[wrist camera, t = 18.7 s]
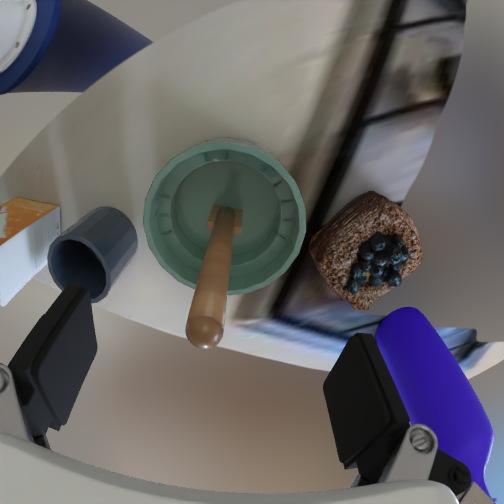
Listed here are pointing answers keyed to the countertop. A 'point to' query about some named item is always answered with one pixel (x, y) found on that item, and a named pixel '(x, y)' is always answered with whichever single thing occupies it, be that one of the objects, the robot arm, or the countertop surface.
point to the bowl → (233, 195)
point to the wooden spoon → (213, 279)
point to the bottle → (436, 389)
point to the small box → (24, 242)
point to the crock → (93, 252)
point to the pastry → (366, 249)
